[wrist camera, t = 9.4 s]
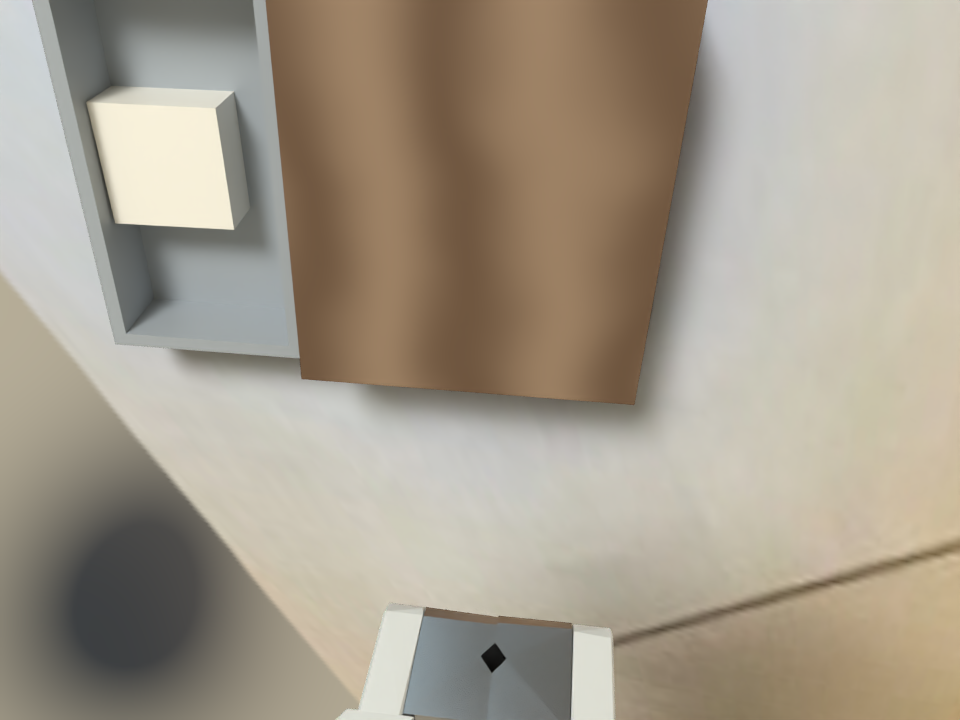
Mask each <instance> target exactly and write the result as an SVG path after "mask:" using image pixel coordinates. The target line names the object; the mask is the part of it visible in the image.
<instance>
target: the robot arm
mask: <svg viewBox="0 0 960 720" xmlns="http://www.w3.org/2000/svg"><path fill="white" fill-rule="evenodd" d="M335 720H616V719H615V687H614V654H613V634H612V632H611V629H610V628H604V627H595V626H586V625H577V624H573V625H572V624H571V623H566V622H555V621H545V620H535V619H525V618H515V617H505V616H499V617H493V616H486V615H479V614H472V613H464V612H457V611H450V610H443V609H436V608H429V607H419V606H411V605H403V604H396V603H389V604H388V606H387V608H386V610H385V612H384V614H383V618H382V621H381V625H380V629H379V633H378V637H377V640H376V644H375V648H374V652H373V655H372V659H371V663H370V667H369V671H368V674H367V678H366V682H365V686H364V689H363V693H362V697H361V701H360V705H359V709H346V710H345V711H344V712H343V713H342V714H341V715H340V716H339V717H338V718H337V719H335Z"/></svg>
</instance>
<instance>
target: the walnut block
mask: <svg viewBox="0 0 960 720" xmlns="http://www.w3.org/2000/svg"><path fill="white" fill-rule="evenodd" d="M265 1H266V12H267V22H268V33H269V43H270V54H271V64H272V74H273V85H274V95H275V106H276V116H277V127H278V137H279V147H280V158H281V168H282V179H283V189H284V200H285V210H286V220H287V231H288V241H289V252H290V262H291V273H292V283H293V294H294V304H295V314H296V325H297V335H298V346H299V356H300V367H301V377H302V379H308V380H321V381H334V382H347V383H360V384H373V385H385V386H398V387H411V388H424V389H437V390H450V391H463V392H476V393H488V394H501V395H514V396H527V397H540V398H553V399H566V400H578V401H591V402H604V403H617V404H630V405H634V404H635V398H636V393H637V387H638V382H639V376H640V371H641V365H642V360H643V354H644V349H645V343H646V338H647V332H648V327H649V321H650V316H651V310H652V305H653V299H654V294H655V288H656V283H657V277H658V272H659V266H660V261H661V255H662V250H663V244H664V239H665V233H666V228H667V222H668V217H669V211H670V206H671V200H672V195H673V189H674V184H675V178H676V173H677V167H678V162H679V156H680V151H681V145H682V140H683V134H684V129H685V124H686V118H687V113H688V107H689V102H690V96H691V91H692V85H693V80H694V74H695V69H696V63H697V58H698V52H699V47H700V41H701V36H702V30H703V25H704V19H705V14H706V8H707V3H708V0H265Z"/></svg>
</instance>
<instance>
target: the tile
mask: <svg viewBox="0 0 960 720" xmlns="http://www.w3.org/2000/svg"><path fill="white" fill-rule="evenodd" d="M86 104H87V108H88V112H89V116H90V120H91V124H92V129H93V133H94V137H95V141H96V145H97V150H98V154H99V158H100V162H101V166H102V170H103V175H104V179H105V183H106V187H107V191H108V195H109V200H110V204H111V208H112V212H113V216H114V220H115V223H119V224H137V225H155V226H174V227H192V228H210V229H229V230H234V229H235V228H236V227H237V225H238V224H239V223H240V221H241V220H242V219H243V217H244V216H245V214H246V213H247V212H248V210H249V209H250V202H249V195H248V188H247V181H246V174H245V167H244V160H243V152H242V145H241V138H240V131H239V124H238V117H237V109H236V102H235V95H234V91H216V90H194V89H173V88H151V87H129V86H110V87H109V88H107V89H106V90H104V91H103V92H101V93H100V94H98V95H96V96H95V97H93V98H92V99H90V100H89V101H87V102H86Z"/></svg>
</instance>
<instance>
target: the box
mask: <svg viewBox="0 0 960 720" xmlns="http://www.w3.org/2000/svg"><path fill="white" fill-rule="evenodd" d="M32 2H33V7H34V11H35V15H36V19H37V23H38V27H39V31H40V35H41V40H42V44H43V48H44V52H45V56H46V60H47V64H48V68H49V73H50V77H51V81H52V85H53V89H54V93H55V97H56V101H57V106H58V110H59V114H60V118H61V122H62V126H63V130H64V134H65V139H66V143H67V147H68V151H69V155H70V159H71V163H72V167H73V172H74V176H75V180H76V184H77V188H78V192H79V196H80V200H81V205H82V209H83V213H84V217H85V221H86V225H87V229H88V233H89V238H90V242H91V246H92V250H93V254H94V258H95V262H96V266H97V271H98V275H99V279H100V283H101V287H102V291H103V295H104V299H105V304H106V308H107V312H108V316H109V320H110V324H111V328H112V332H113V337H114V341H115V344H118V345H131V346H144V347H157V348H170V349H183V350H196V351H209V352H222V353H235V354H248V355H262V356H275V357H288V358H300V356H299V346H298V335H297V325H296V314H295V304H294V294H293V283H292V273H291V262H290V252H289V241H288V231H287V220H286V210H285V200H284V189H283V179H282V168H281V158H280V147H279V137H278V127H277V116H276V106H275V95H274V85H273V74H272V64H271V54H270V43H269V33H268V22H267V12H266V1H265V0H32ZM110 86H129V87H151V88H173V89H194V90H216V91H234V95H235V102H236V109H237V117H238V124H239V131H240V138H241V145H242V152H243V160H244V167H245V174H246V181H247V188H248V195H249V202H250V209H249V210H248V212H247V213H246V214H245V216H244V217H243V219H242V220H241V221H240V223H239V224H238V225H237V227H236V228H235V229H234V230H229V229H210V228H192V227H174V226H155V225H137V224H119V223H115V220H114V216H113V212H112V208H111V204H110V200H109V195H108V191H107V187H106V183H105V179H104V175H103V170H102V166H101V162H100V158H99V154H98V150H97V145H96V141H95V137H94V133H93V129H92V124H91V120H90V116H89V112H88V108H87V104H86V102H87V101H89V100H90V99H92V98H93V97H95V96H96V95H98V94H100V93H101V92H103V91H104V90H106V89H107V88H109V87H110Z"/></svg>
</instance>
